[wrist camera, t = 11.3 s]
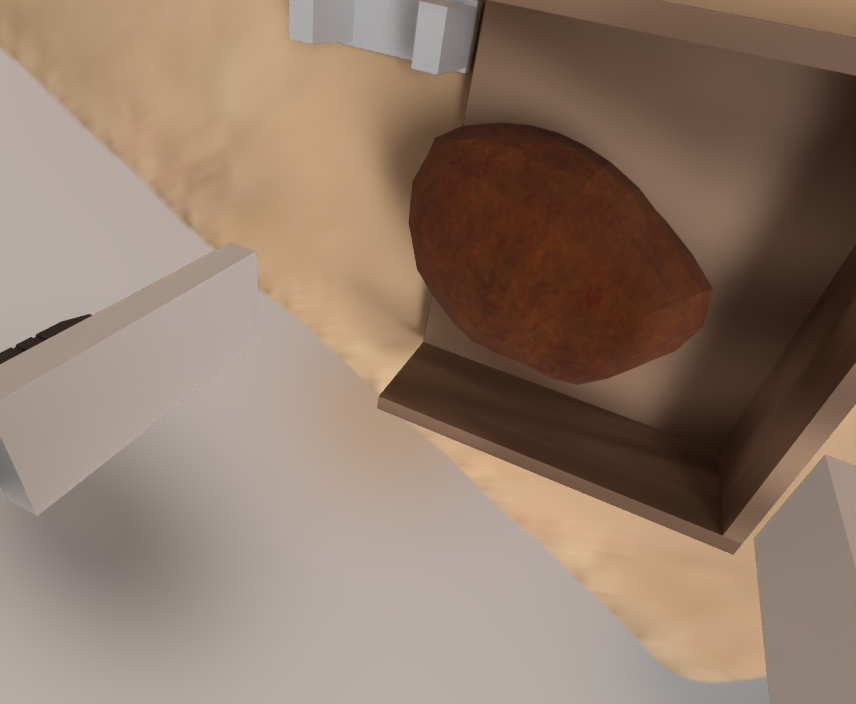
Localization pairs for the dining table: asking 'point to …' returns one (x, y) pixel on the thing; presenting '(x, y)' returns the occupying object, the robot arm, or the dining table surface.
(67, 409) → the robot arm
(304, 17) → the clip
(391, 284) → the dining table surface
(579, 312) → the potato
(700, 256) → the holder
